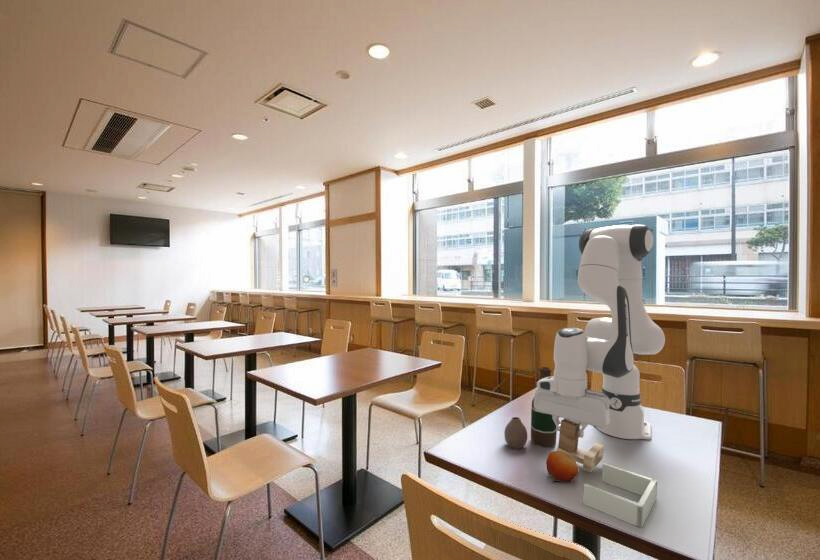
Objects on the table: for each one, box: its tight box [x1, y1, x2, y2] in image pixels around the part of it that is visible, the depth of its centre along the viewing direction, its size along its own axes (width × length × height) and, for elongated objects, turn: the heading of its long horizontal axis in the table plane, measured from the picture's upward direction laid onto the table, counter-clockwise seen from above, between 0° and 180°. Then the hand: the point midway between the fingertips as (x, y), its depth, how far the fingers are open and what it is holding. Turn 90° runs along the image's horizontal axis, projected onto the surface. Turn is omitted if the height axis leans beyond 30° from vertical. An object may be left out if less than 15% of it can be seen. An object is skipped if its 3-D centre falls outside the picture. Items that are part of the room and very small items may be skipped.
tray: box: [582, 462, 658, 528], centre depth 91 cm, size 15×12×4 cm
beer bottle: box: [530, 366, 558, 448], centre depth 123 cm, size 8×8×24 cm
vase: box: [504, 416, 528, 449], centre depth 119 cm, size 7×7×9 cm
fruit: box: [545, 450, 580, 484], centre depth 101 cm, size 8×8×8 cm
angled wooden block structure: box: [556, 418, 605, 473], centre depth 107 cm, size 10×10×10 cm
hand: (569, 433), depth 109 cm, fingers closed on angled wooden block structure, 4 cm apart
